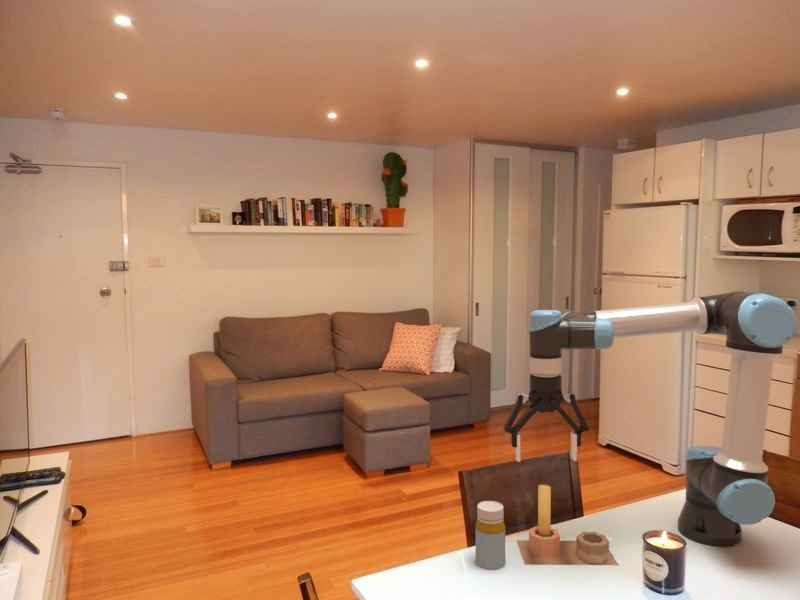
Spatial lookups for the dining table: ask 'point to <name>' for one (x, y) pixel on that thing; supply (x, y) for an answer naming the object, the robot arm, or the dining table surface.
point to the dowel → (544, 510)
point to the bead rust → (544, 543)
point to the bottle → (490, 535)
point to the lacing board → (563, 558)
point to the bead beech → (592, 547)
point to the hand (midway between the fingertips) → (545, 459)
